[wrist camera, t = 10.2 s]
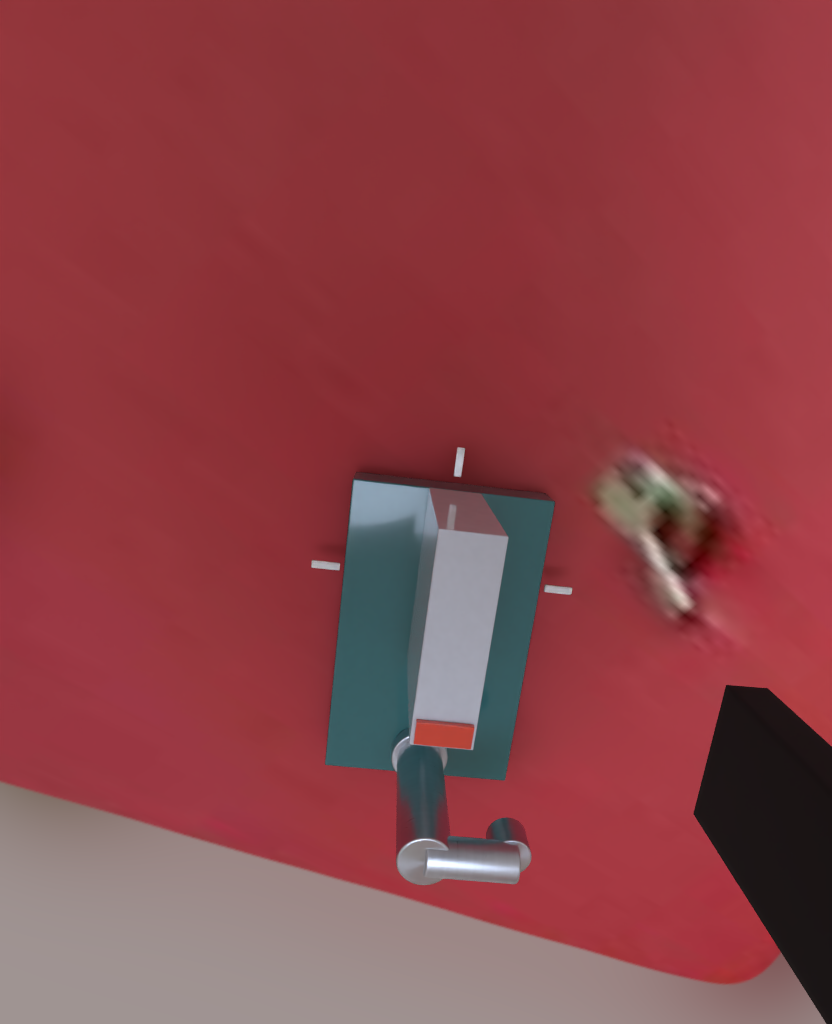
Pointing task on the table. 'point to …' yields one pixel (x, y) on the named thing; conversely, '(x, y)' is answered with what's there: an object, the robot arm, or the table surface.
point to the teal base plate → (388, 614)
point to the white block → (453, 618)
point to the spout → (446, 827)
